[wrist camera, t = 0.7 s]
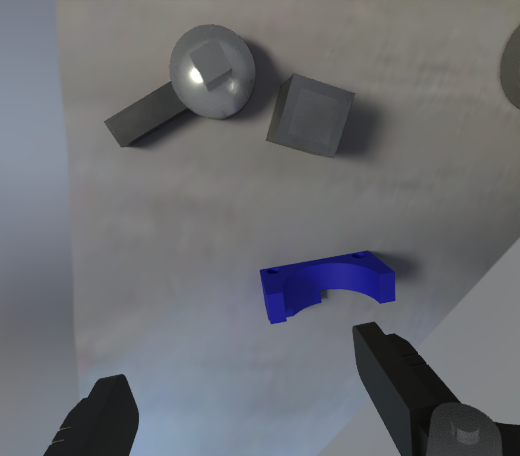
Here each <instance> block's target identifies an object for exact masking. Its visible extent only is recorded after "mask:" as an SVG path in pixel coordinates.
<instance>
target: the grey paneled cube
mask: <svg viewBox="0 0 520 456" xmlns="http://www.w3.org/2000/svg"><path fill="white" fill-rule="evenodd" d="M354 96H355V93H352V92H349V91H346V90H343V89H340V88H337V87H334V86H331V85H328V84H325V83H322V82H319V81H316V80H313V79H310V78H307V77H304V76H301V75H298V74H295V73H294V74H293V75H292V76H291V77H290V78H289V79H288V80H287V81H286V82H285V83H284V84H283V85H282V86H281V87H280V90H279V94H278V98H277V101H276V105H275V109H274V112H273V116H272V120H271V123H270V127H269V131H268V134H267V138H266V141H269V142H273V143H276V144H279V145H283V146H286V147H290V148H293V149H297V150H300V151H303V152H307V153H310V154H314V155H319V156H326V157H332V158H334V157H335V154H336V151H337V148H338V145H339V142H340V139H341V135H342V132H343V129H344V126H345V123H346V120H347V117H348V114H349V111H350V108H351V105H352V102H353V99H354Z"/></svg>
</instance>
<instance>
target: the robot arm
mask: <svg viewBox="0 0 520 456" xmlns="http://www.w3.org/2000/svg"><path fill="white" fill-rule="evenodd" d="M501 82H502V87H503V89H504V92H505V94H506V96H507V97H508V99H509V100H510V101H511V103H513V104H514V105H515V106H516V107H518V108H520V25H519V27H518V28H517V29H516V30H515V32H514V33H513V34H512V36H511V38H510V40H509V41H508V43H507V45H506V48H505V51H504V53H503V57H502V62H501ZM352 331H353V340H354V349H355V357H356V364H357V369H358V372H359V375H360V378H361V380H362V382H363V384H364V386H365V388H366V390H367V392H368V394H369V396H370V398H371V400H372V401H373V403H374V405H375V407H376V409H377V411H378V413H379V414H380V417H381V418H382V420H383V422H384V424H385V426H386V428H387V430H388V431H389V433H390V436H391V437H392V439H393V441H394V443H395V445H396V447H397V449H398V451H399V453H400V454H401V456H520V425H513V424H503V423H498V422H493V421H492V419H490V418H489V417H488V416H487V415H486V414H484V413H483V412H481V411H480V410H478V409H476V408H474V407H471V406H469V405H466V404H462V403H461V402H460V401H459V400H458V399H457V398H456V396H455V395H454V394H453V393H452V392H451V391H450V390H449V388H448V387H447V386H446V385H445V384H444V383H443V381H442V380H441V379H440V378H439V377H438V376H437V374H436V373H435V372H434V371H433V370H432V369H431V367H430V366H429V365H427V364H426V362H425V361H424V359H423V358H422V357H421V356H420V355H418V352H417V351H416V350H415V349H414V348H413V346H412V345H411V344H410V343H409V342H408V341H407V340H405V339H403V338H401V337H400V336H398V335H396V334H395V333H393V334H389V335H385V334H384V333H383V331H382V330H381V329H380V327H379V326H378V325H377V324H376V323H375V322H370V323H365V324H360V325H356V326H353V329H352ZM138 425H139V413H138V408H137V405H136V403H135V400H134V397H133V395H132V392H131V389H130V387H129V384H128V381H127V379H126V377H125V376H124V375H123V374H120V375H115V376H110V377H105V378H101V379H99V380H98V381H97V382H96V383H95V385H94V387H93V389H92V390H91V392H90V394H89V396H88V398H83V399H82V400H81V401H80V402H79V403H78V404H77V405H76V406H75V407H74V408H73V409H72V410H71V411H70V413H69V414H68V415H67V417H66V419H65V420H64V422H63V424H62V425H61V427H60V431H58V432H57V434H56V436H55V437H54V439H53V441H52V445H50V446H49V447H48V449H47V451H46V452H45V454H44V455H43V456H129V454H130V451H131V448H132V445H133V442H134V439H135V436H136V433H137V430H138Z"/></svg>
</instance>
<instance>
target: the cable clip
mask: <svg viewBox="0 0 520 456" xmlns="http://www.w3.org/2000/svg"><path fill="white" fill-rule="evenodd" d="M260 275H261V281H262V287H263V294H264V300H265V306H266V311H267V315H268V319H269V320H270V323H271V324H275V323H280V322H286V321H287V320H286V317H290V316H294V315H295V314H297V313H298V312H299V311H301V310H302V309H304V308H306V307H309V306H311V305H314V304H318V303H321V294H320V290H327V289H345V290H352V291H357V292H360V293H363V294H366V295H368V296H370V297H372V298H374V299H375V300H376V301H378V302H379V303H380V304H381V303H386V302H392V301H395V272H394V271H393V270H391V269H390V268H389V267H388V266H386V265H385V264H384V263H382V262H381V261H380V260H379V259H377V258H376V257H375V256H373V255H372V254H371V253H370V252H368V251H363V252H357V253H352V254H346V255H341V256H335V257H329V258H324V259H318V260H313V261H307V262H301V263H296V264H290V265H285V266H279V267H273V268H268V269H262V270H260Z"/></svg>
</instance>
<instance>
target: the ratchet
mask: <svg viewBox="0 0 520 456" xmlns="http://www.w3.org/2000/svg"><path fill="white" fill-rule="evenodd" d="M170 78H171V81H170V82H168V83H167V84H165V85H164V86H162V87H160V88H159V89H157V90H155V91H154V92H152V93H150V94H149V95H147V96H145V97H144V98H142V99H140V100H139V101H137V102H135V103H134V104H132V105H130V106H129V107H127V108H126V109H124V110H122V111H121V112H119V113H117V114H116V115H114V116H112V117H111V118H109V119H107V120H106V121H104V123H105V124H106V126H107V127H108V129H109V130H110V132H111V133H112V135H113V136H114V138H115V139H116V140H117V142H118V143H119V145H120V146H121V147H129V146H130V145H132V144H134V143H135V142H137V141H139V140H140V139H142V138H144V137H145V136H147V135H149V134H150V133H152V132H154V131H155V130H157V129H159V128H160V127H162V126H164V125H165V124H167V123H169V122H170V121H172V120H174V119H175V118H177V117H179V116H180V115H182V114H184V113H185V112H187V111H189V110H191V111H193V112H194V113H196V114H197V115H199V116H201V117H204V118H208V119H224V118H227V117H230V116H232V115H234V114H236V113H237V112H238V111H239V110H241V109H242V108H243V106H244V105H245V104H246V102H247V101H248V99H249V97H250V95H251V93H252V90H253V87H254V83H255V64H254V60H253V57H252V54H251V52H250V50H249V48H248V46H247V45H246V44H245V42H244V41H243V40H242V39H241V38H240V37H239V36H238V35H237V34H236V33H234V32H233V31H231V30H230V29H228V28H225V27H223V26H219V25H212V24H211V25H201V26H198V27H195V28H193V29H191V30H189V31H188V32H186V33H185V34H184V35H183V36H182V37H181V38H180V39H179V41H178V42H177V43H176V45H175V47H174V49H173V52H172V55H171V59H170Z"/></svg>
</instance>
